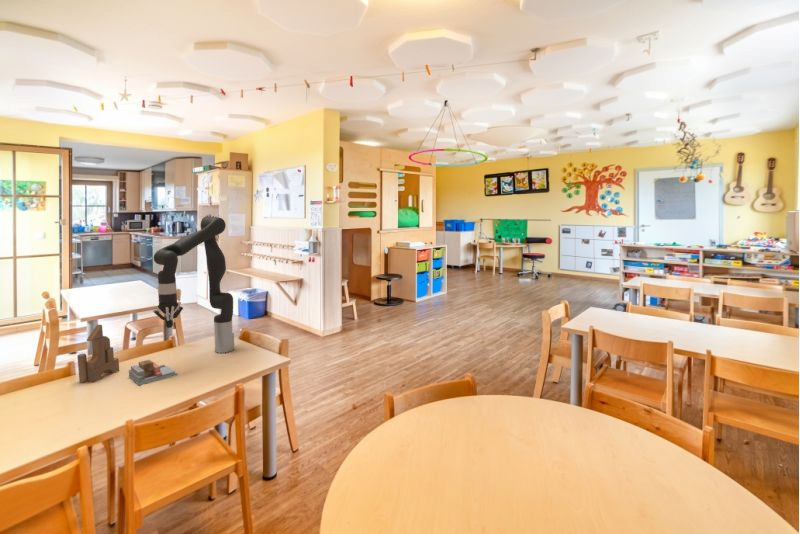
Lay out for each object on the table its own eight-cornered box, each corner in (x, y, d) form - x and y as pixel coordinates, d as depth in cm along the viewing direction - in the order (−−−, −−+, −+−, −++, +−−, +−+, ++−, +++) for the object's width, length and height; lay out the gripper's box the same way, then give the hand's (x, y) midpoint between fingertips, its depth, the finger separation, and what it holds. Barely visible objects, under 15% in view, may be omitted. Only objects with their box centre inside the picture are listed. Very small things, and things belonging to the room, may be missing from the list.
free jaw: (151, 368, 192) (151, 360, 191) (162, 376, 183) (161, 367, 183) (147, 369, 190) (146, 361, 190) (157, 377, 182) (156, 368, 181)
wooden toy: (107, 369, 193) (103, 319, 189) (119, 370, 192) (116, 320, 188) (77, 382, 177) (73, 329, 174) (90, 384, 176) (86, 330, 173)
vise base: (166, 367, 197) (165, 356, 196) (177, 375, 188) (176, 364, 188) (128, 376, 185) (128, 365, 184) (139, 385, 176) (138, 373, 175)
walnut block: (150, 372, 188) (149, 359, 187) (154, 375, 185) (153, 362, 184) (139, 375, 184) (138, 362, 183) (143, 378, 181) (142, 365, 180)
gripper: (154, 295, 180) (157, 332, 182) (185, 291, 190) (187, 326, 192) (149, 292, 185) (151, 328, 187) (179, 289, 195) (180, 323, 197)
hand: (169, 327), depth 190 cm, fingers closed
